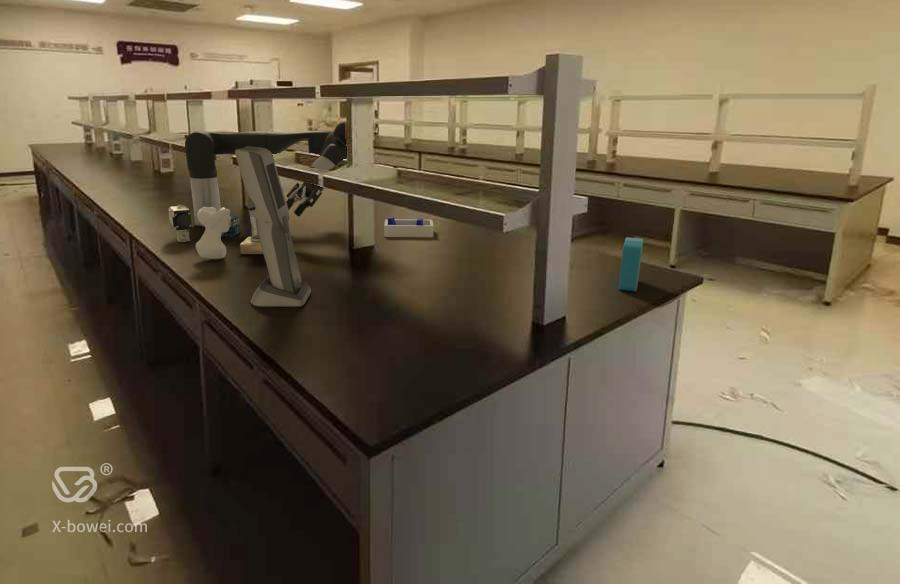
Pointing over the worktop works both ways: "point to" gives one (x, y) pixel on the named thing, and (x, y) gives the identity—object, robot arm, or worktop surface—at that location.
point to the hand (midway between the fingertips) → (289, 212)
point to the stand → (250, 247)
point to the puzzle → (233, 227)
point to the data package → (630, 264)
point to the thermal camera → (271, 230)
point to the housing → (254, 230)
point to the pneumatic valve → (180, 221)
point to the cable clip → (392, 222)
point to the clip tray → (408, 228)
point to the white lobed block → (213, 232)
